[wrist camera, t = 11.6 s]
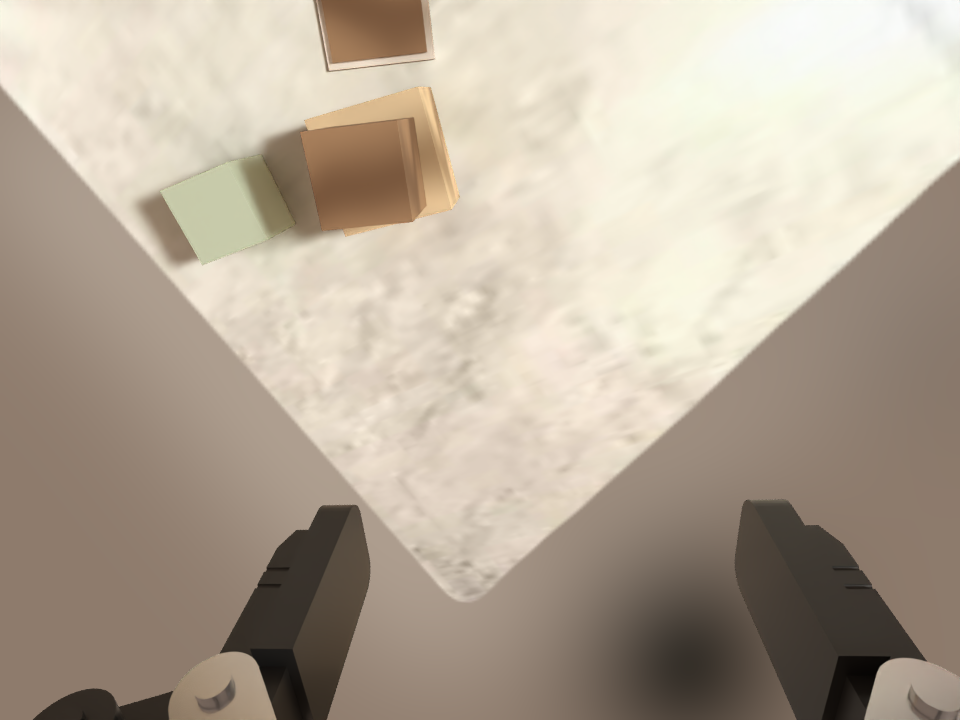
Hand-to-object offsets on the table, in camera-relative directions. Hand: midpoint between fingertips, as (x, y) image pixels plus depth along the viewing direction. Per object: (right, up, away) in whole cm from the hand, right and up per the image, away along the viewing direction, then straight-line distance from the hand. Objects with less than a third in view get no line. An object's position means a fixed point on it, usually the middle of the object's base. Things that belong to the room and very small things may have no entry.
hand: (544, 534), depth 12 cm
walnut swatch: (-8, +25, +23) cm, 35 cm away
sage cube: (-18, +15, +28) cm, 37 cm away
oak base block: (-7, +17, +27) cm, 32 cm away
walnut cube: (-7, +15, +22) cm, 28 cm away
